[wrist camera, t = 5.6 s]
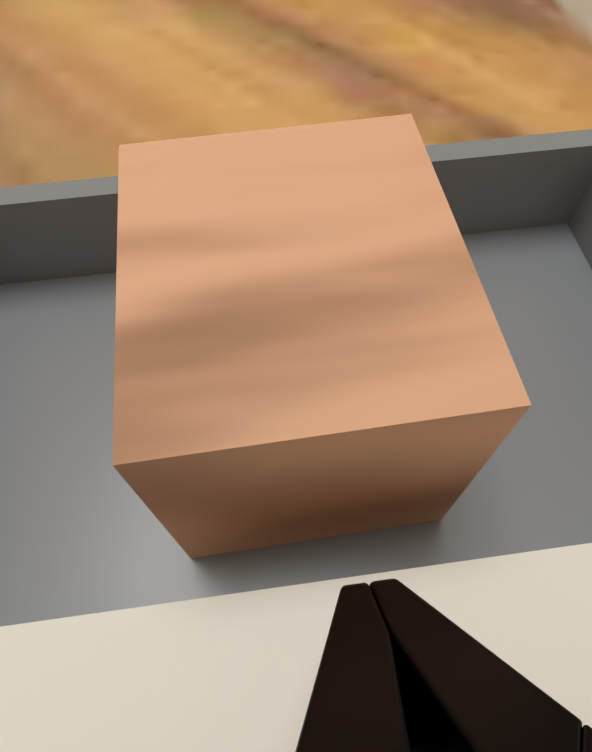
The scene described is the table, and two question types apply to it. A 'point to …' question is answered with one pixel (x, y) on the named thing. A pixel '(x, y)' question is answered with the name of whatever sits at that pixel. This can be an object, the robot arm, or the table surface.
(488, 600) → the cream slab
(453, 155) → the box
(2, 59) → the table surface
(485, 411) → the block
